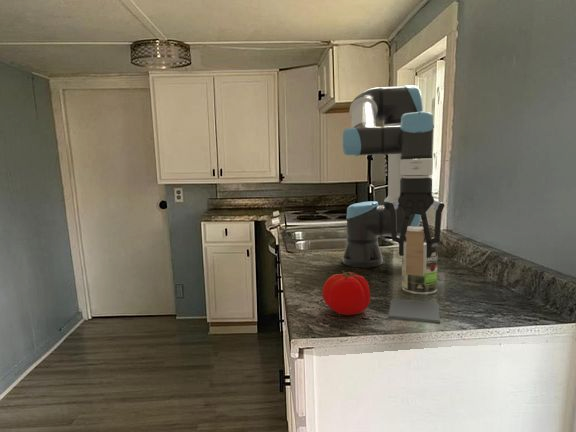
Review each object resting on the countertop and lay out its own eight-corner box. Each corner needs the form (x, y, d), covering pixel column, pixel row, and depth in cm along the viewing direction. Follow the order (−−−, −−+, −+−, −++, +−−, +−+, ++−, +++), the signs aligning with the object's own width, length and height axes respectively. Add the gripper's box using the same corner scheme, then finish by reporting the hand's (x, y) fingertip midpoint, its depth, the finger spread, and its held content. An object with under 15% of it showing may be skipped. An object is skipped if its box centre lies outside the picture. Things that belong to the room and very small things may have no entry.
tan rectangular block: (407, 267, 101) (407, 226, 99) (423, 267, 99) (423, 226, 98) (406, 274, 94) (406, 230, 93) (423, 275, 93) (423, 231, 91)
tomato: (371, 322, 92) (371, 281, 91) (321, 320, 94) (320, 280, 93) (369, 302, 105) (369, 265, 104) (324, 301, 107) (324, 265, 106)
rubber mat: (392, 300, 106) (392, 298, 106) (438, 304, 102) (438, 302, 102) (388, 317, 95) (388, 315, 95) (439, 322, 91) (439, 320, 91)
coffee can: (444, 290, 113) (446, 244, 111) (419, 297, 108) (420, 249, 106) (418, 281, 122) (419, 238, 120) (394, 287, 117) (394, 242, 115)
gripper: (379, 178, 93) (379, 270, 96) (454, 176, 87) (452, 275, 90) (382, 176, 100) (382, 262, 103) (452, 175, 94) (450, 266, 97)
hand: (414, 268), depth 97 cm, fingers closed on tan rectangular block, 4 cm apart
